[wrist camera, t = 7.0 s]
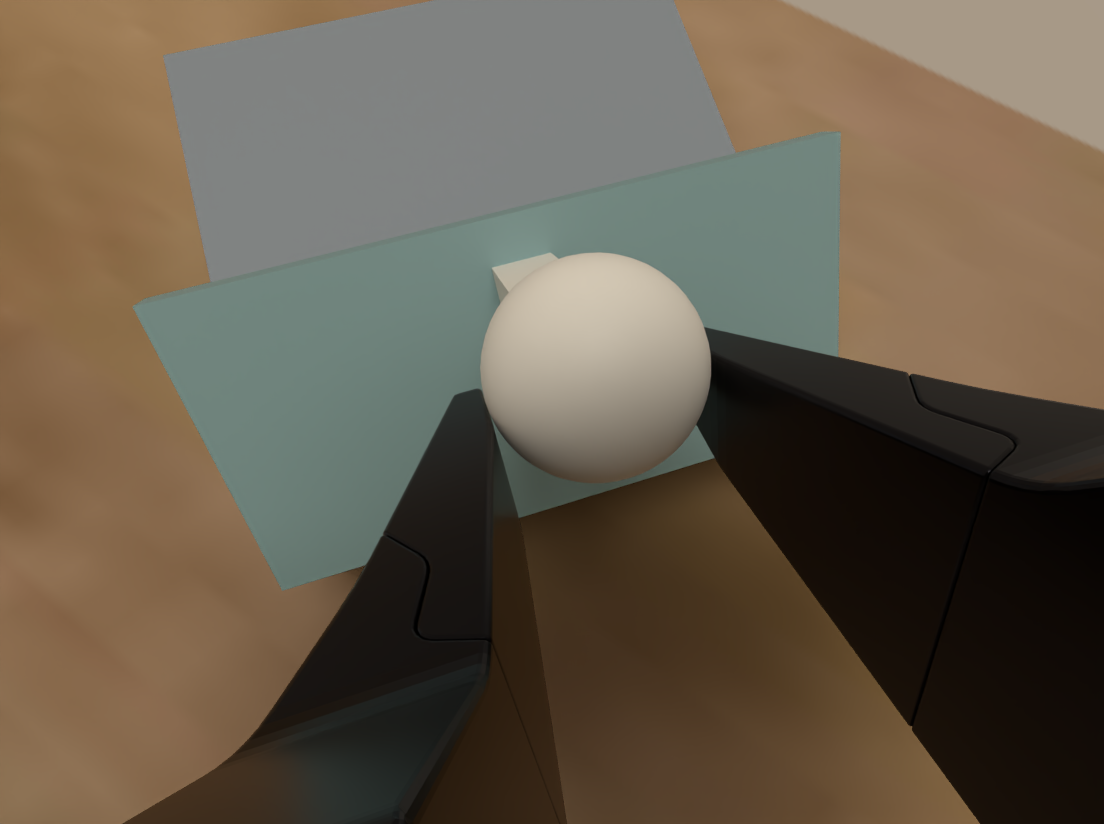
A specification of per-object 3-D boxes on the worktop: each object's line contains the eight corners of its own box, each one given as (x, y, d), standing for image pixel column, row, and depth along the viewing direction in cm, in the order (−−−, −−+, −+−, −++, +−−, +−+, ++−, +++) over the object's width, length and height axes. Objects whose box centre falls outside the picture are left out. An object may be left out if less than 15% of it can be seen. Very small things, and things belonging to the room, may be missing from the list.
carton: (752, 441, 21) (837, 403, 15) (341, 567, 19) (271, 574, 14) (622, 94, 24) (654, -45, 18) (251, 179, 22) (163, 55, 16)
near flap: (822, 410, 16) (1079, 578, 10) (286, 573, 14) (207, 890, 8) (821, 132, 13) (1188, 131, 7) (145, 298, 11) (-137, 484, 5)
